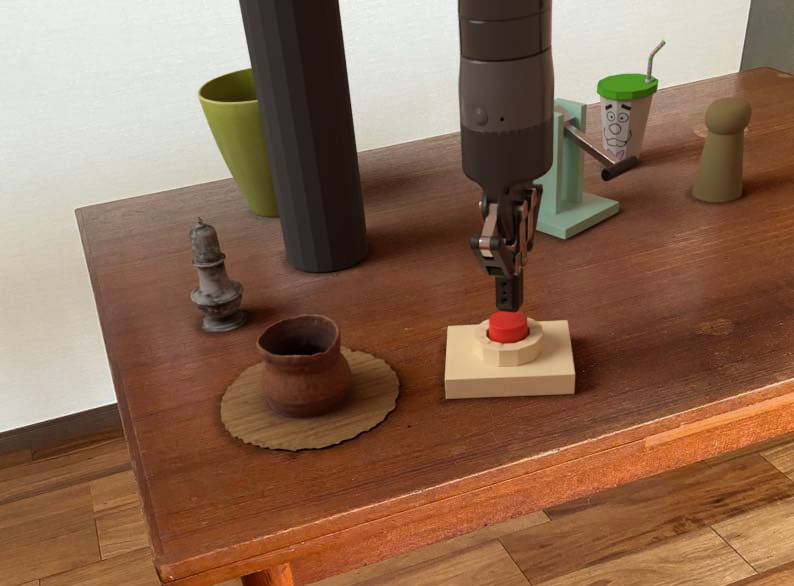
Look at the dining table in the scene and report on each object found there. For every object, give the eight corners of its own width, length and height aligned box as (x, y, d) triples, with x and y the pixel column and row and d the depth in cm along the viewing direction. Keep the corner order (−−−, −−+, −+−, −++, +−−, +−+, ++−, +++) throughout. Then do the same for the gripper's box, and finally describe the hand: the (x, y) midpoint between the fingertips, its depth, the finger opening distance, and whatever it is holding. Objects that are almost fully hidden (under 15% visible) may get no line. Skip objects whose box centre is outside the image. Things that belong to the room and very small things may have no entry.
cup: (582, 169, 122) (588, 49, 112) (607, 149, 126) (614, 32, 116) (636, 176, 118) (647, 53, 108) (659, 156, 123) (672, 35, 113)
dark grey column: (316, 232, 115) (273, -38, 95) (383, 242, 111) (353, -38, 91) (271, 266, 109) (214, -14, 89) (340, 278, 105) (297, -14, 85)
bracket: (618, 212, 111) (627, 103, 102) (565, 240, 106) (569, 128, 98) (546, 190, 118) (548, 86, 109) (493, 215, 114) (491, 110, 105)
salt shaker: (251, 328, 98) (227, 223, 90) (198, 337, 98) (169, 232, 90) (248, 304, 102) (225, 201, 94) (198, 312, 102) (170, 210, 94)
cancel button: (526, 325, 86) (526, 308, 84) (528, 344, 83) (528, 327, 82) (489, 327, 86) (488, 310, 85) (489, 346, 83) (488, 329, 82)
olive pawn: (733, 205, 109) (748, 110, 102) (684, 198, 112) (696, 106, 104) (748, 186, 112) (764, 94, 105) (701, 180, 115) (713, 90, 108)
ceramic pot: (383, 454, 79) (374, 387, 74) (195, 450, 82) (175, 386, 77) (412, 348, 91) (406, 285, 87) (249, 348, 95) (234, 288, 90)
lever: (634, 173, 103) (642, 155, 101) (606, 187, 101) (613, 169, 99) (560, 120, 107) (566, 101, 105) (532, 132, 105) (537, 113, 103)
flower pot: (292, 236, 115) (268, 105, 104) (203, 222, 122) (173, 98, 111) (351, 191, 124) (335, 67, 113) (266, 181, 131) (244, 62, 120)
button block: (566, 339, 90) (568, 303, 87) (574, 394, 83) (576, 356, 80) (448, 344, 91) (446, 309, 89) (446, 399, 84) (443, 362, 81)
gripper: (526, 142, 65) (526, 349, 77) (575, 85, 74) (569, 279, 85) (431, 138, 68) (446, 338, 79) (489, 84, 76) (495, 272, 88)
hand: (509, 307), depth 82 cm, fingers closed
